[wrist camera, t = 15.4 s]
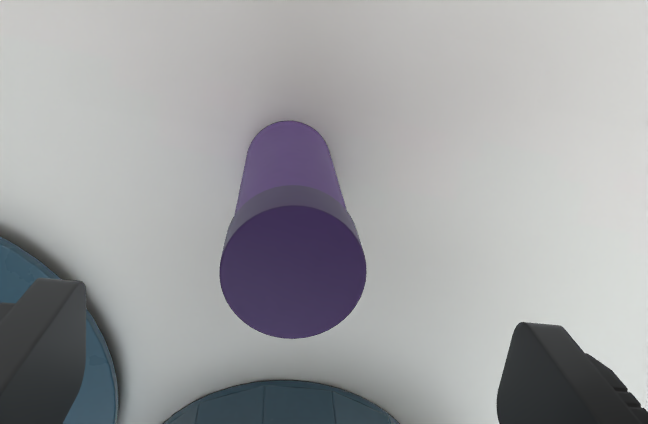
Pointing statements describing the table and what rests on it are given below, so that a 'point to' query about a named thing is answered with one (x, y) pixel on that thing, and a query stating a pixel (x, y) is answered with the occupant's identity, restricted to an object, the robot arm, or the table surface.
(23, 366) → the robot arm
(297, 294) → the glue stick
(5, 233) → the table surface
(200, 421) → the tin
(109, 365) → the lid
